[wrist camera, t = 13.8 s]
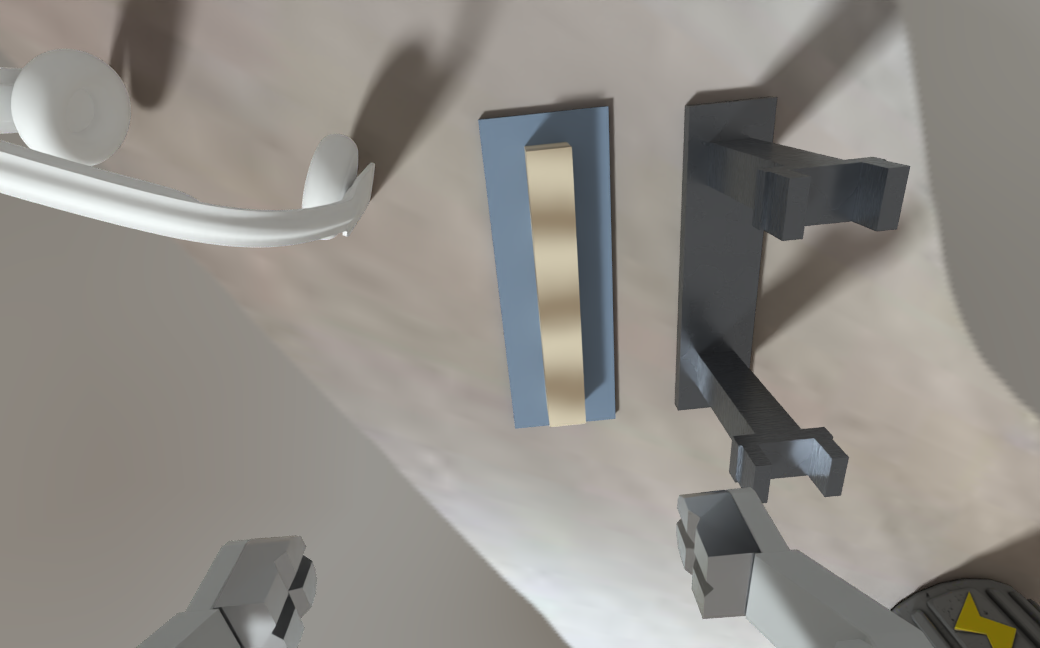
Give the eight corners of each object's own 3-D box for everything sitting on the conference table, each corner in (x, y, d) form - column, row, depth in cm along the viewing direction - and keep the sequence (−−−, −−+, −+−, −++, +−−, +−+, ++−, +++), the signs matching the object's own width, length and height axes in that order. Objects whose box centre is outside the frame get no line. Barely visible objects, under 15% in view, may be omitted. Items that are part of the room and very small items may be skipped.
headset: (396, 139, 38) (320, 185, 21) (376, 233, 40) (294, 336, 24) (91, 40, 34) (-271, 6, 18) (92, 149, 37) (-222, 203, 21)
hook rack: (685, 105, 37) (792, 121, 24) (770, 96, 37) (926, 107, 24) (674, 404, 48) (744, 533, 34) (741, 397, 48) (837, 524, 34)
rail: (524, 146, 37) (526, 151, 35) (566, 141, 37) (571, 146, 35) (547, 406, 47) (550, 427, 44) (580, 403, 47) (586, 423, 44)
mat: (478, 119, 37) (478, 120, 37) (606, 106, 37) (608, 106, 36) (515, 424, 48) (515, 428, 48) (614, 414, 48) (615, 418, 47)
